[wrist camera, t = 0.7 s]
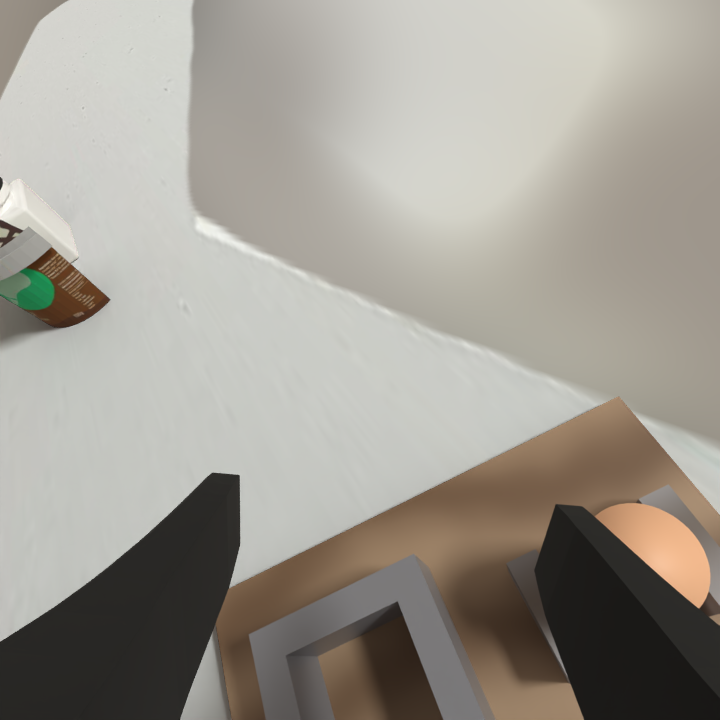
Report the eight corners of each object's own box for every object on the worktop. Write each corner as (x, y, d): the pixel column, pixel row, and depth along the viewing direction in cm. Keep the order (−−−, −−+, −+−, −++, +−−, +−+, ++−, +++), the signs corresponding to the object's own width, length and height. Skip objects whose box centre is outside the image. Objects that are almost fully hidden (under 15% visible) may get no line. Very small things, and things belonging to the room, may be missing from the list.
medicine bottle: (71, 225, 57) (-25, 135, 47) (81, 257, 53) (-22, 165, 43) (18, 259, 56) (-89, 175, 47) (24, 294, 52) (-93, 209, 42)
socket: (516, 766, 21) (513, 786, 17) (336, 851, 21) (299, 886, 18) (428, 567, 26) (413, 553, 22) (284, 637, 26) (248, 634, 23)
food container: (12, 317, 51) (-87, 250, 42) (54, 273, 53) (-33, 202, 44) (74, 354, 45) (-28, 285, 36) (119, 303, 47) (31, 227, 38)
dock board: (888, 729, 19) (951, 741, 16) (291, 1003, 20) (251, 1060, 17) (616, 404, 28) (625, 374, 25) (220, 599, 29) (186, 592, 26)
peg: (685, 611, 22) (740, 593, 16) (603, 650, 22) (629, 645, 16) (625, 527, 24) (654, 485, 18) (551, 562, 24) (557, 531, 18)
